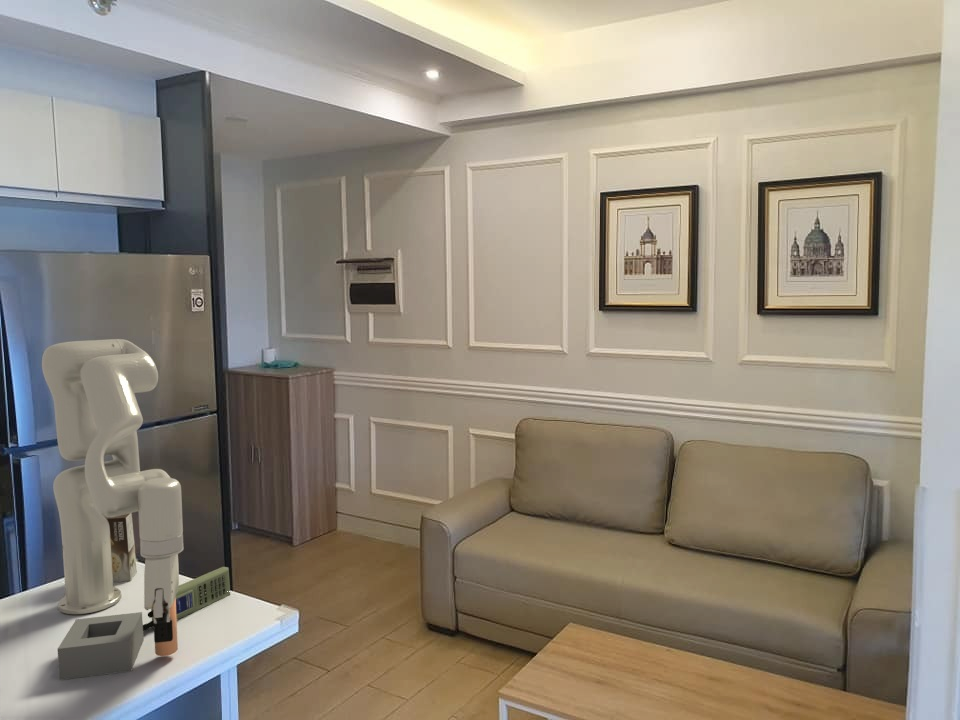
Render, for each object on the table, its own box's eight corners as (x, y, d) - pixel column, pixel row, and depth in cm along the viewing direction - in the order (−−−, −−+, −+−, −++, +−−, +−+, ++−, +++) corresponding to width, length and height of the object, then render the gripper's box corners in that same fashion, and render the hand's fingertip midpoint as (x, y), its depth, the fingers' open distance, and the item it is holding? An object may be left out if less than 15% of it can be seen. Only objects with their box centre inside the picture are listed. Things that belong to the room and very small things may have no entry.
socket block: (78, 648, 143) (76, 619, 142) (143, 640, 146) (141, 612, 146) (59, 680, 132) (57, 648, 131) (131, 670, 135) (129, 640, 134)
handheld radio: (232, 595, 168) (135, 642, 146) (222, 593, 169) (125, 638, 148) (230, 567, 167) (133, 610, 145) (221, 565, 169) (123, 607, 147)
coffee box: (137, 571, 182) (134, 509, 180) (130, 581, 175) (127, 517, 174) (98, 574, 180) (94, 511, 178) (89, 584, 173) (85, 519, 172)
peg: (157, 646, 141) (154, 588, 139) (179, 644, 142) (176, 586, 140) (153, 657, 137) (150, 597, 135) (176, 654, 138) (173, 594, 136)
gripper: (148, 530, 144) (152, 617, 146) (131, 562, 128) (135, 660, 130) (188, 527, 146) (192, 613, 148) (176, 559, 130) (180, 655, 132)
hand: (165, 634), depth 139 cm, fingers closed on peg, 4 cm apart
